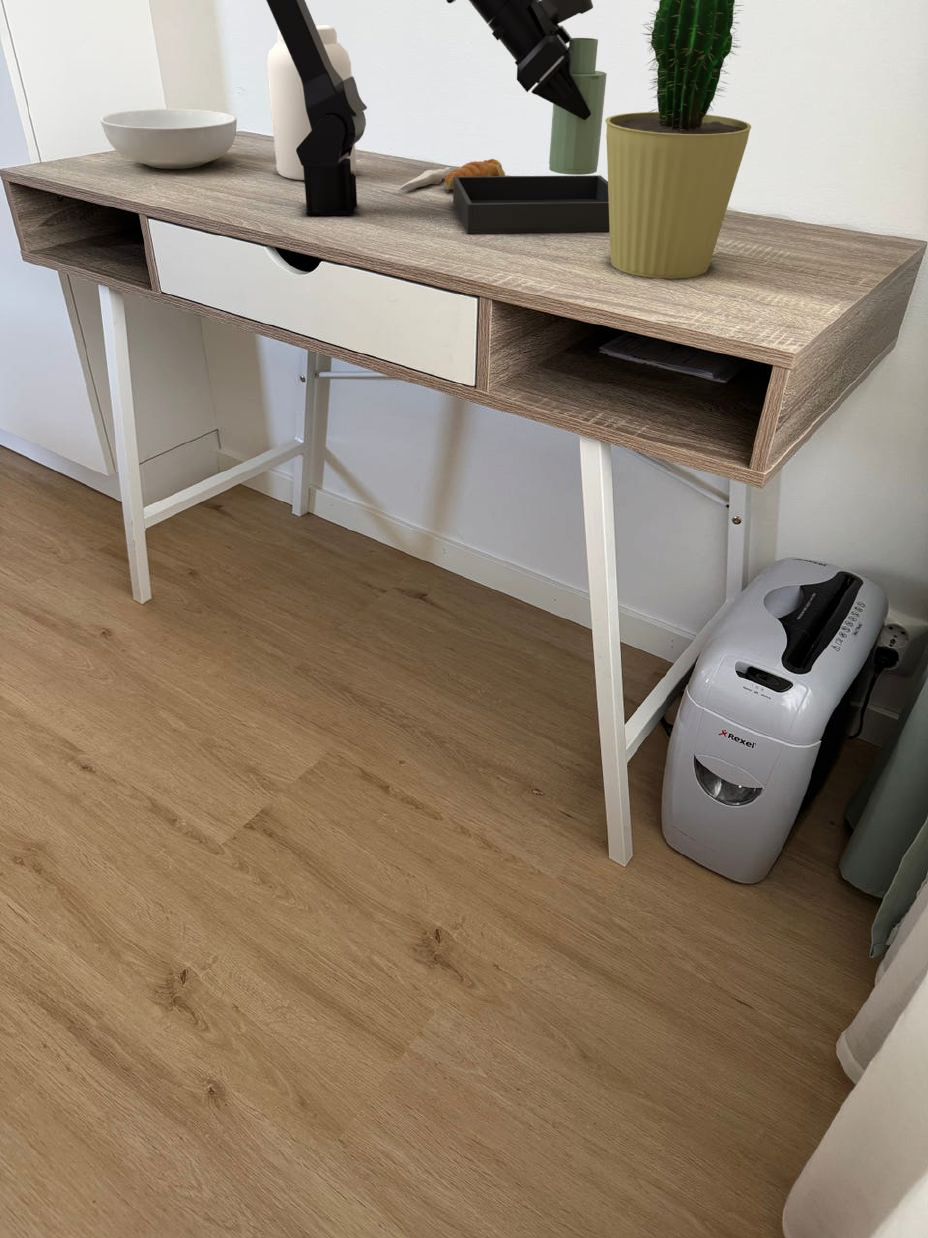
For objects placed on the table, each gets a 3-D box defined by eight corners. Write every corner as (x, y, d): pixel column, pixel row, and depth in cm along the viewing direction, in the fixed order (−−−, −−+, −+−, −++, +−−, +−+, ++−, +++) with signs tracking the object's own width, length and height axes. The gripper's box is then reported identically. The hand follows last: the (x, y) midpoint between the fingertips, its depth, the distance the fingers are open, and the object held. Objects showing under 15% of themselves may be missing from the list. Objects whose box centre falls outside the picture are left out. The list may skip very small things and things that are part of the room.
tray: (467, 233, 118) (467, 204, 116) (453, 203, 132) (453, 176, 130) (629, 231, 120) (632, 202, 118) (598, 201, 134) (600, 175, 132)
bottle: (565, 176, 117) (575, 41, 108) (540, 166, 121) (548, 36, 113) (606, 172, 119) (619, 40, 111) (580, 163, 124) (591, 36, 115)
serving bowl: (226, 178, 143) (219, 128, 139) (91, 175, 143) (81, 125, 139) (252, 153, 160) (247, 108, 156) (132, 151, 160) (124, 106, 156)
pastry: (461, 196, 135) (461, 168, 133) (433, 189, 139) (433, 161, 137) (510, 188, 140) (511, 161, 138) (481, 181, 144) (482, 154, 142)
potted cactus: (591, 244, 115) (618, -56, 97) (717, 249, 113) (768, -53, 96) (592, 280, 102) (624, -56, 84) (734, 286, 101) (796, -53, 83)
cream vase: (280, 183, 141) (265, 27, 129) (274, 167, 151) (260, 21, 139) (362, 180, 143) (355, 27, 131) (351, 165, 153) (343, 21, 141)
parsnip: (441, 176, 147) (441, 163, 146) (456, 178, 146) (456, 165, 145) (391, 194, 136) (391, 180, 135) (407, 196, 135) (406, 182, 134)
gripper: (553, -53, 99) (642, 70, 105) (559, -53, 114) (637, 54, 120) (478, 31, 105) (567, 144, 110) (494, 21, 120) (571, 120, 125)
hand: (588, 113), depth 116 cm, fingers closed on bottle, 6 cm apart
